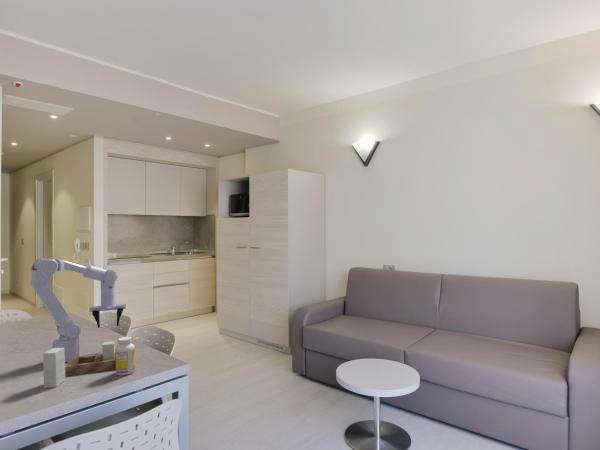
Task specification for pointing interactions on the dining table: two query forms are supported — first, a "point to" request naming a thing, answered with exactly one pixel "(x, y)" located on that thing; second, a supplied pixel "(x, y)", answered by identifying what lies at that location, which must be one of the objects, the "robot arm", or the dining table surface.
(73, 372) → the walnut rail
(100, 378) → the dining table surface
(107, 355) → the sage peg
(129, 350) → the supplement bottle
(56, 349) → the skincare box
